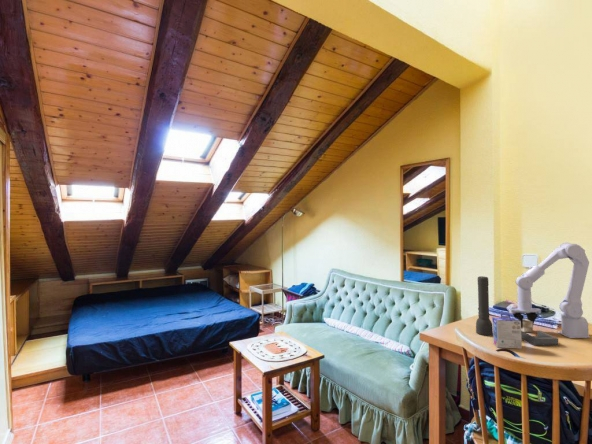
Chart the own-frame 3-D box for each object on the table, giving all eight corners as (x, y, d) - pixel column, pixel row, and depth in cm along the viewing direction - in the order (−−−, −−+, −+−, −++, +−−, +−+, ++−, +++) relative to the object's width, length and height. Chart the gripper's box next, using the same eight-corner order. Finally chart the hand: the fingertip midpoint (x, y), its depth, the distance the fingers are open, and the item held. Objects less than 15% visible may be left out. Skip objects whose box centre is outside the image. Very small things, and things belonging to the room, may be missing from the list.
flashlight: (481, 330, 161) (473, 332, 158) (480, 275, 161) (471, 276, 158) (495, 334, 155) (487, 337, 152) (494, 277, 155) (485, 278, 152)
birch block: (526, 328, 161) (526, 319, 161) (532, 331, 157) (532, 321, 157) (517, 329, 161) (517, 319, 161) (523, 332, 157) (523, 321, 157)
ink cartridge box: (516, 344, 142) (515, 312, 142) (522, 349, 137) (521, 315, 137) (492, 343, 144) (491, 311, 144) (497, 347, 139) (496, 314, 139)
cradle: (540, 337, 150) (540, 330, 150) (558, 345, 140) (558, 338, 140) (518, 337, 150) (518, 330, 150) (534, 345, 140) (534, 338, 140)
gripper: (533, 298, 163) (534, 324, 163) (504, 298, 163) (505, 325, 163) (543, 301, 156) (544, 329, 156) (513, 302, 156) (514, 329, 156)
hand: (525, 327), depth 159 cm, fingers closed on birch block, 4 cm apart
